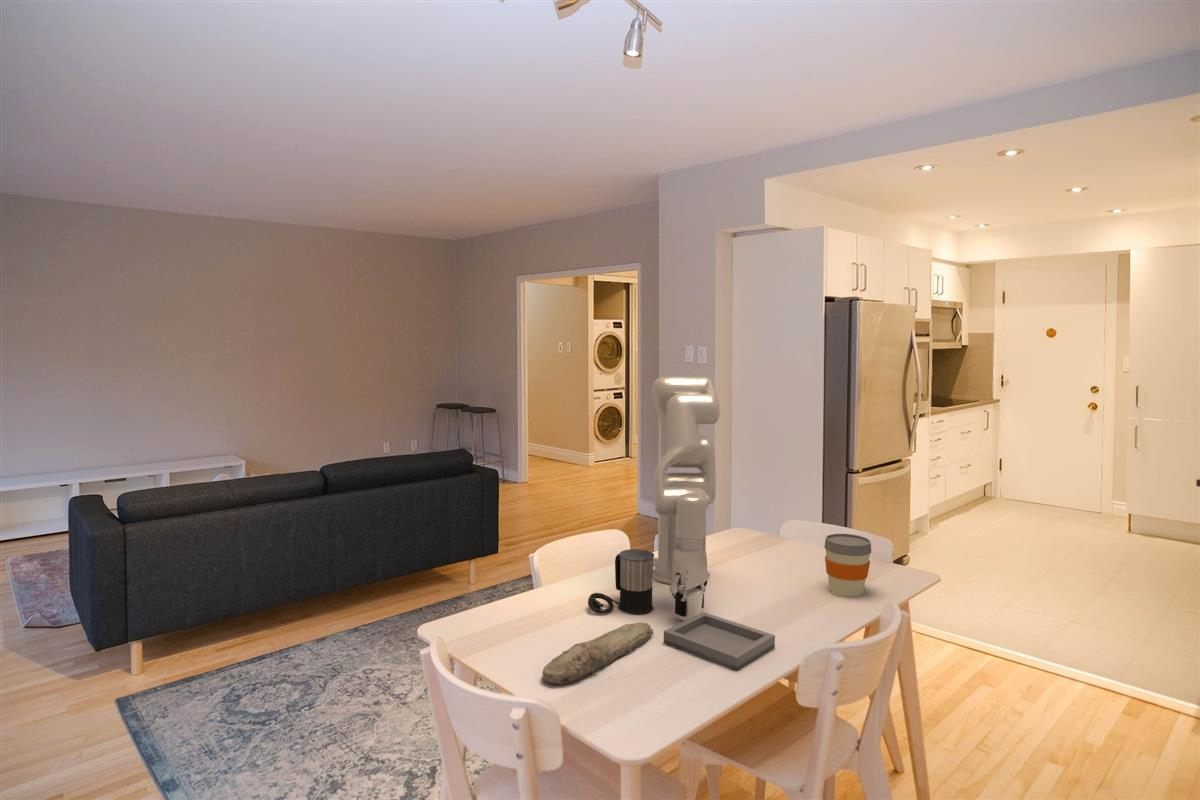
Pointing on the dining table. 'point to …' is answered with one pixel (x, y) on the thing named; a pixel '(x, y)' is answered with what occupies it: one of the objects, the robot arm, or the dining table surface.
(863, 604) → the dining table surface
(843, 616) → the dining table surface
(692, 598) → the white cup
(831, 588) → the reusable coffee cup
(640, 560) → the milk frother
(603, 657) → the elongated rock
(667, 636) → the serving tray
